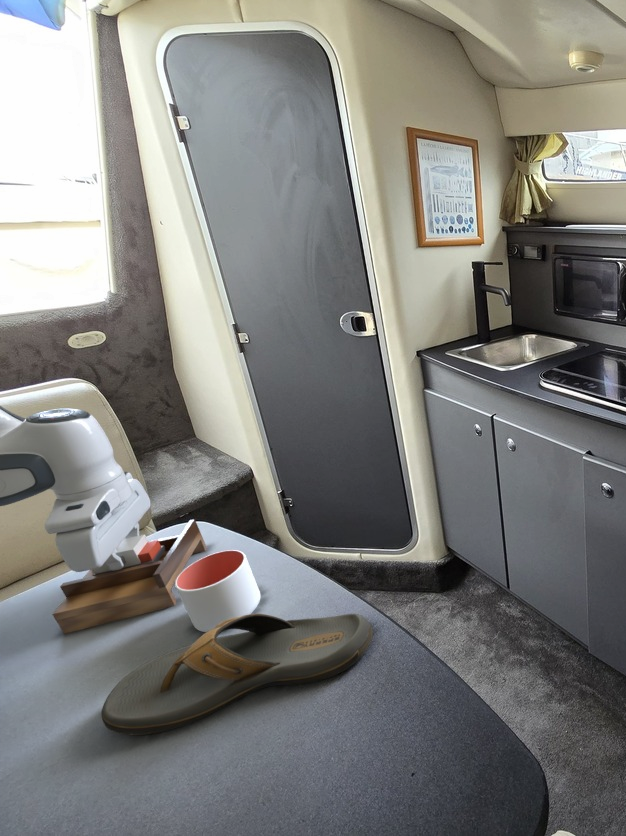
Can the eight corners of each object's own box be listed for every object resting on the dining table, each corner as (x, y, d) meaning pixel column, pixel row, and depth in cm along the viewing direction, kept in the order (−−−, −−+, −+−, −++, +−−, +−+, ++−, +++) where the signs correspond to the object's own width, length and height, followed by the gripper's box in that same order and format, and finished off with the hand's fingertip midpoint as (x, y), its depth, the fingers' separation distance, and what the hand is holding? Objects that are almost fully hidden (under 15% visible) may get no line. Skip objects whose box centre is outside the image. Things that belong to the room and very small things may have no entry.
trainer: (94, 580, 90) (80, 553, 87) (109, 562, 94) (95, 536, 92) (154, 566, 92) (142, 540, 90) (166, 550, 97) (154, 524, 95)
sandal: (154, 663, 80) (131, 620, 76) (380, 615, 87) (368, 573, 83) (95, 752, 67) (64, 705, 63) (365, 687, 74) (350, 641, 70)
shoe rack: (65, 636, 85) (43, 600, 83) (115, 571, 100) (98, 539, 97) (175, 607, 90) (159, 573, 87) (208, 549, 105) (195, 519, 102)
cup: (209, 600, 92) (190, 557, 88) (269, 586, 94) (253, 544, 91) (184, 643, 83) (162, 597, 79) (252, 626, 86) (233, 581, 82)
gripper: (105, 470, 96) (133, 528, 101) (36, 532, 78) (74, 600, 83) (145, 463, 97) (170, 521, 103) (86, 522, 80) (121, 589, 85)
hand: (127, 556), depth 92 cm, fingers closed on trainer, 5 cm apart
